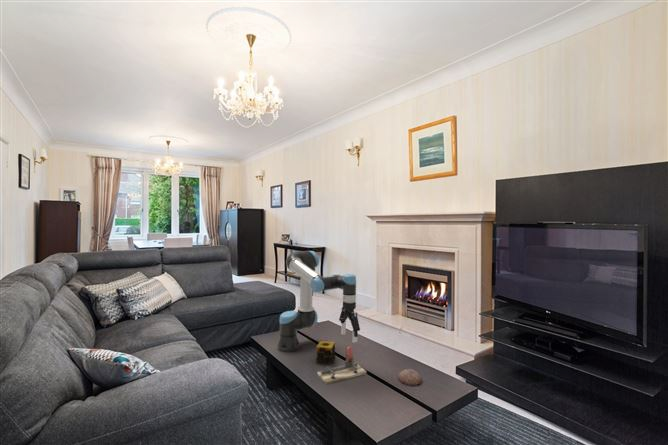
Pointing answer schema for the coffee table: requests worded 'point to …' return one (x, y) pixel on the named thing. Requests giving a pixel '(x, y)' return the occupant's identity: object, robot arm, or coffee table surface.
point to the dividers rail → (336, 369)
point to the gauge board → (342, 374)
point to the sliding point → (350, 357)
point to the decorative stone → (409, 377)
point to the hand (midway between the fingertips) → (349, 337)
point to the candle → (325, 352)
